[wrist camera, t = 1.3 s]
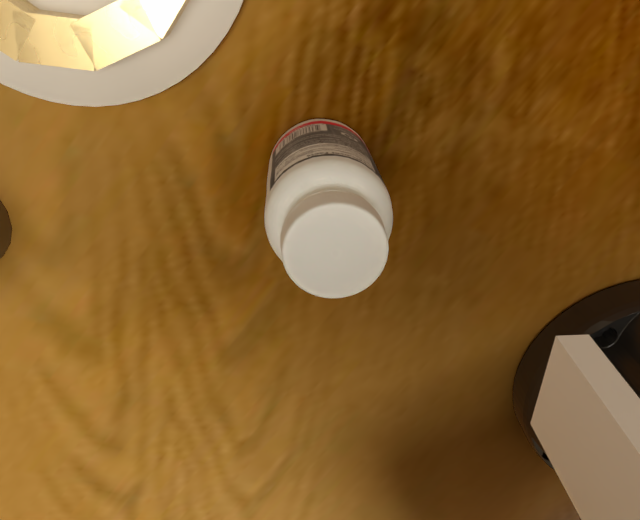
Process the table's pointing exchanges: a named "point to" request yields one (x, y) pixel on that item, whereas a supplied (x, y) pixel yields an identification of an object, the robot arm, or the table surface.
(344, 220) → the pill bottle
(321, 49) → the table surface
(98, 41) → the collar
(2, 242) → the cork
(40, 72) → the coaster
